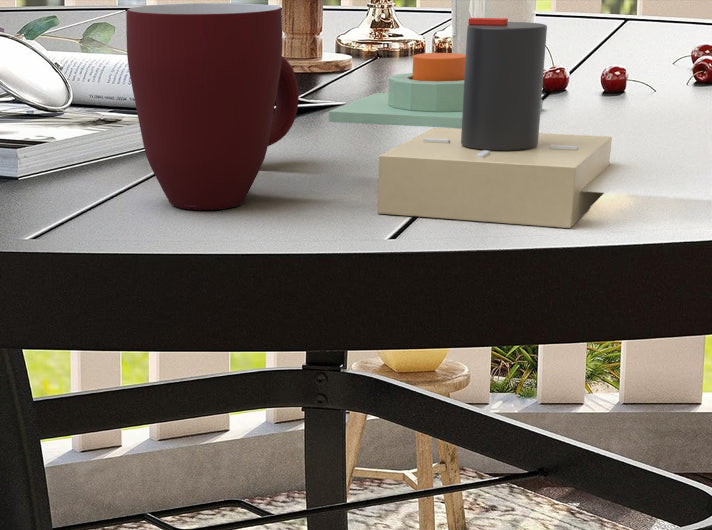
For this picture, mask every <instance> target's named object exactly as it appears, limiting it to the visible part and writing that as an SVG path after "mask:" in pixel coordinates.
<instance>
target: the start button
mask: <svg viewBox="0 0 712 530" xmlns="http://www.w3.org/2000/svg"><path fill="white" fill-rule="evenodd" d="M465 59H466V54H464V53H455V52H427V53H425V52H424V53H416V54H413V55H412V72H411V73H412V80H419V81H461V80H464V77H465Z"/></svg>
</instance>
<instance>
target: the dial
mask: <svg viewBox="0 0 712 530" xmlns="http://www.w3.org/2000/svg"><path fill="white" fill-rule="evenodd" d="M467 23H468V24H467V27H466V44H465V55H466V59H465V77H464V95H463V113H462V128H461V129H462V131H461V144H462V145H463V146H465V147H469V148H473V149H481V150H495V151H510V150H524V149H530V148H533V147H536V146H537V145H538V137H539V133H540V124H541V123H540V121H541V111H542V110H541V100H542V97H543V96H542V95H543V85H544V70H545V59H546V48H547V47H546V45H547V33H548V32H547V31H548V25H547V24H544V23H539V22H529V21H528V22H527V21H526V22H525V21H509V18H505V17H501V18H500V17H469V18H468V22H467Z"/></svg>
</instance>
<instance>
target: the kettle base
mask: <svg viewBox="0 0 712 530" xmlns="http://www.w3.org/2000/svg"><path fill="white" fill-rule="evenodd" d="M463 95H464V80H461V81H419V80H412V72H409V73H398V74H394V75H392V76H389V77H388V92H375V93H373V94H370V95H368V96H365V97H363V98H360V99H357V100H355V101H352V102H349V103H347V104H345V105H344V104H343V105H342V106H339V107H336V108H334V109H331V110H329V111H328V122H329V123H330V122H331V123H346V124H347V123H351V124H366V125H367V124H368V125H369V124H371V125H388V126H389V125H390V126H409V127H410V126H411V127H426V128H449V129H462V113H463ZM543 104H544V100H543V99H541V111H542V110H543Z"/></svg>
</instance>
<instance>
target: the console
mask: <svg viewBox="0 0 712 530" xmlns="http://www.w3.org/2000/svg"><path fill="white" fill-rule="evenodd" d="M461 131H462V128H446V127H432V128H431V129H429V130H427V131H425V132H423V133H421V134H419V135H417V136H415V137H413V138H411V139H410V140H407V141H405V142H403V143H401V144H399V145H398V146H395V147H393V148H392V149H389V150H388V151H386V152H383V153H382V154H379V156H378V178H377V179H378V180H377V181H378V184H377V185H378V186H377V210H376V212H377V214H378V215H392V216H403V217H404V216H405V217H416V218H418V217H419V218H429V219H442V220H443V219H444V220H456V221H471V222H483V223H497V224H510V225H522V226H534V227H536V226H537V227H546V228H547V227H550V228H562V229H572V227H573V226H574V225H575V224H576V223H577V222H578V221H579V220H580V219H581V218H582V217H583V216H584V215H585V214H586V213H587V212H588V211H589V210H590V209H591V207H592V206H593V205H594V204H595V203H596V202H597V201H598V200H599V199H600V198H602V196H603V195H604V194H605V192H600V191H598V192H597V191H583V189H584V188H585V187H587V186H588V185H589V184H590V183H591V182H593V180H594V179H596V177H598V175H600V174H601V173H602V172H603V171H604V170H605V169H606V168H607V167H608V166H609V165H610V160H611V151H612V140H613V137H612V136H607V135H606V136H605V135H604V136H603V135H587V134H586V135H584V134H565V133H543V132H539V137H538V145H537V146H536V147H533V148H530V149H524V150H510V151H495V150H481V149H473V148H469V147H465V146H463V145H462V144H461Z"/></svg>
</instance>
